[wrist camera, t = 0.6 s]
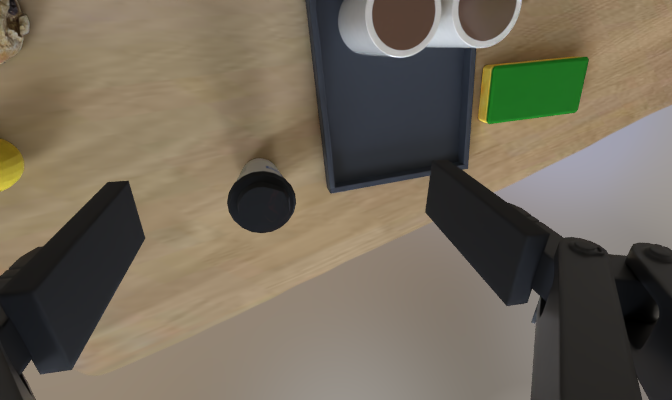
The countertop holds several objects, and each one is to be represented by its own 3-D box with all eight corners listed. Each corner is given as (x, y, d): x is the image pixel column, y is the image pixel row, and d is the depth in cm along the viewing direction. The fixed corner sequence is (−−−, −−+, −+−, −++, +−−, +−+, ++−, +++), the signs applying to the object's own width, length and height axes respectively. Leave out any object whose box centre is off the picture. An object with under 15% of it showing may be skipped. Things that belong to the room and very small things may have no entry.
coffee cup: (241, 207, 45) (239, 247, 36) (223, 156, 41) (216, 186, 33) (293, 192, 45) (304, 228, 36) (279, 142, 42) (288, 167, 33)
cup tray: (302, -29, 36) (305, -33, 34) (471, -41, 39) (483, -46, 37) (327, 187, 46) (330, 193, 44) (459, 163, 49) (468, 168, 47)
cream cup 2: (405, -19, 38) (454, -39, 29) (463, -23, 39) (527, -44, 30) (406, 50, 41) (450, 52, 32) (460, 44, 42) (517, 44, 33)
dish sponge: (563, 109, 50) (578, 112, 48) (476, 120, 47) (487, 124, 45) (574, 56, 47) (590, 56, 45) (482, 65, 44) (494, 66, 42)
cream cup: (334, -13, 37) (362, -32, 28) (397, -18, 38) (443, -38, 29) (340, 58, 40) (367, 61, 31) (398, 51, 41) (440, 53, 32)
